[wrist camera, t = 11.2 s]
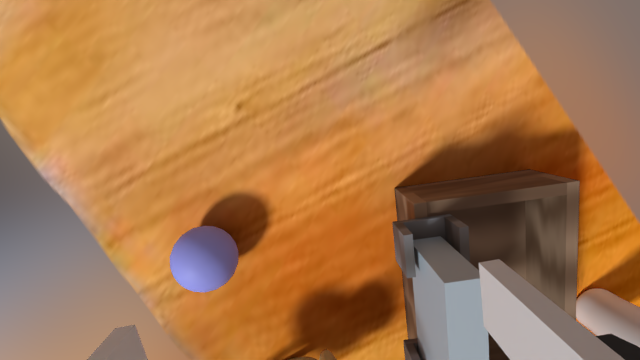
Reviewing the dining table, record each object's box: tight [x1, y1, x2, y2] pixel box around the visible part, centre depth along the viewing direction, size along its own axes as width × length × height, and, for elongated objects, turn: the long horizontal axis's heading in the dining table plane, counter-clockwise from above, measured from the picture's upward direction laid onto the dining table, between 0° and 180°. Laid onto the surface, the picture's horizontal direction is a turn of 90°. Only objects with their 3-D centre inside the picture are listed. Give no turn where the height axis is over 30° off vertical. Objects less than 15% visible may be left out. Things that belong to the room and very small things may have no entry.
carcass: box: [393, 169, 580, 360], centre depth 34 cm, size 20×18×11 cm
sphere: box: [170, 226, 238, 292], centre depth 34 cm, size 7×7×7 cm
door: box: [413, 236, 489, 360], centre depth 28 cm, size 14×4×8 cm, turn 8°
